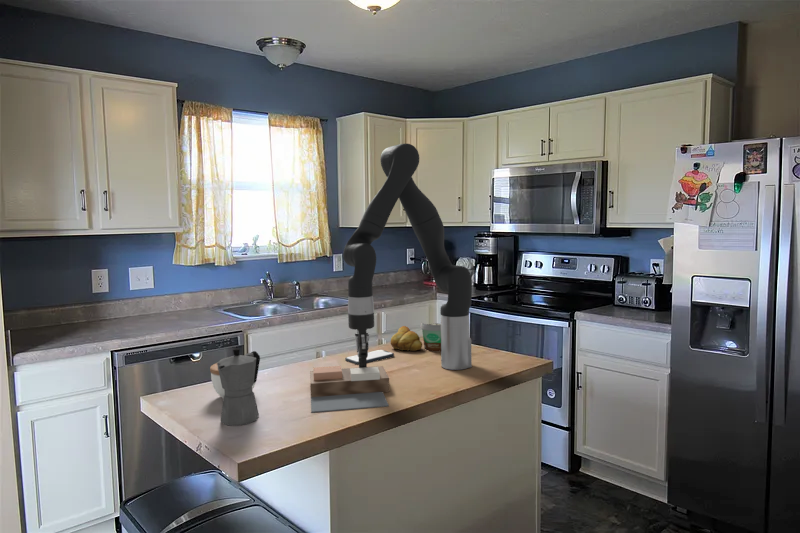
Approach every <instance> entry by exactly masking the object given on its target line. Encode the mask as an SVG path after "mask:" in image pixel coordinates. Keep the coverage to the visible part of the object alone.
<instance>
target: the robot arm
mask: <svg viewBox="0 0 800 533" xmlns="http://www.w3.org/2000/svg"><path fill="white" fill-rule="evenodd" d="M419 163H420V154H419V150H418V149H417V148H416V147H415V146H414V145H413V144H410V143H401V144H395V145H391V146H388V147H386V148H384V150H382V152H381V155H380V166H381V168H382V171H383V173H384V174H385V177H386V180H385V181H384V183H383V185H382V186H381V187H380V189H379V190H378V191H377V193H376V194H375V196H374V197H373V198H372V200H370V202H369V203H368V205H367V207H366V209H365V211H364V214H363V216H362V218H361V221H360V222H359V226H358V227H357V228H356V230H355V231H354V232H353V234H352V235H351V237H350V238H349V239H348V241H346V244H345V245H344V249H343V254H342V256H343V260H344V263H345V264H347V265H348V266H350V267H354V271H353V275H351V276H350V277H349V278H348V280H347V281H348V282H347V288H348V290H347V291H348V298H347V300H348V301H347V316H348V317H347V319H348V324H347V325H348V328H349V329H350V330H356V333H354V340H355V348H356V353H357V354H356V355H358V358H359V365H358V368H366V367H368V366H367V365H368V363H367V359H366V358H367V357H368V352H369V347H370V346H369V341H370V334H369V332H367V330H369V329H370V330H371V329H373V328H374V327H375V302H374V296H373V293H374V292H373V290H374V289H373V279H374V276H375V271H376V266H377V254H376V250H375V248H374V247H373V245H371V244H372V243H373V242H374V241H377V240H378V239H380V237H381V236H382V234H383V233H384V231H385V230H384V229H385V228H386V225H387V222H388V220H389V218H390V216H391V213H392V211H393V209H394V207H395V205H396V204H397V203H398V202H397V201H398V200H399V201H400V203H401V205H402V207H403V210H404V211H405V214H406V216H407V218H408V221H409V223H410V225H411V227H412V230H413V232H414V235H415V236H416V237H417V240H418V241H419V244H420V246H421V249H422V251H423V253H424V255H425V257H426V259H427V262H428V265H429V268H430V272H431V274H432V277H433V278H432V279H433V281H434V282H435V285H436V286H437V288H438V289H439V290H440V291H441V292H443V293H447V301H446V302H445V303H444V304H442V305H441V306H440V308H439V309H440V312H439V313H440V314H439V315H440V324H441V351H440V354H441V355H440V356H441V358H440V361H441V362H440V363H441V367H442V368H443V369H446V370H453V371H455V370H456V371H457V370H458V371H459V370H465V369H469V368H472V367H473V366H472V338H471V337H470V309H471V306H472V295H473V294H472V293H473V279H472V273H471V272H470V270H469V269H468V268H467V267H466V266H463V265H458V264H457V265H455V264H453V263H452V262H451V260H450V257H449V255H448V254H447V251H446V248H445V227H444V224H443V220H442V218H441V216H440V214H439V212H438V209H437V208H436V205H434V203H433V202H432V201H431V200H430V199H429V198H428V196H426V195H425V193H424V192H422V191H421V189H420V188H419V187H418V186H417V185H416V183H415V181H414V179H413V176H414V174H415V172H416V171H417V169H418V167H419V165H420V164H419Z"/></svg>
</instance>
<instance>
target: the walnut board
mask: <svg viewBox="0 0 800 533" xmlns="http://www.w3.org/2000/svg"><path fill="white" fill-rule="evenodd" d="M372 367H378V369H379V372H380V379H378V380H362V381H351V376H350V368H351V367H349V368H348V367H346V368H344V367H343V368H341V369H342V378H338V379H324V380H314V372H313V370H310V371H309V374H310V375H309V379H310V380H309V382H310V383H309V384H310V385H309V386H310V398H311V397H321V396H334V395H346V394H359V393H372V392H383V393H387V392H388V393H389V392H390V377H389V375H388V373H387V371H386V369H385V367H384V366H383V365H377V366H372Z"/></svg>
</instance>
